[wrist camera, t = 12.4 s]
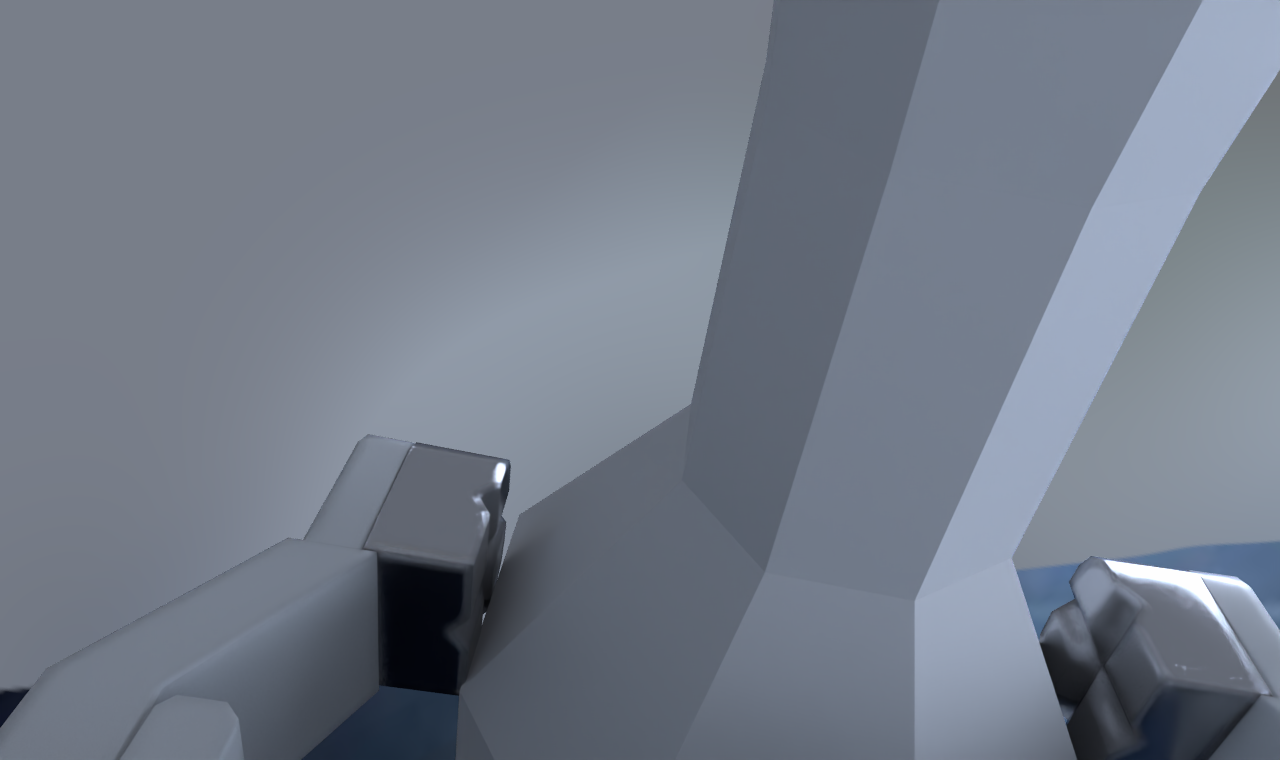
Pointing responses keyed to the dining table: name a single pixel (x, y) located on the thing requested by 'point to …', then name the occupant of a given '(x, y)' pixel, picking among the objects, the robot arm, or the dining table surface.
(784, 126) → the faceted bottle
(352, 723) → the dining table surface
